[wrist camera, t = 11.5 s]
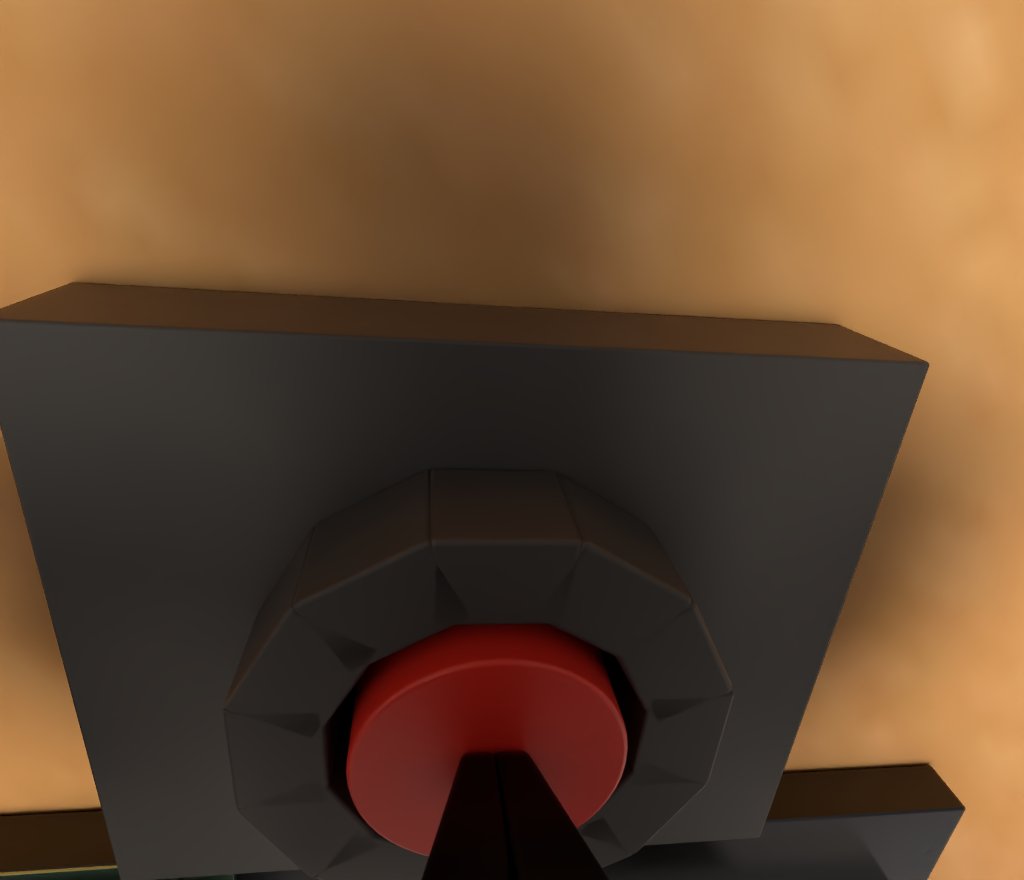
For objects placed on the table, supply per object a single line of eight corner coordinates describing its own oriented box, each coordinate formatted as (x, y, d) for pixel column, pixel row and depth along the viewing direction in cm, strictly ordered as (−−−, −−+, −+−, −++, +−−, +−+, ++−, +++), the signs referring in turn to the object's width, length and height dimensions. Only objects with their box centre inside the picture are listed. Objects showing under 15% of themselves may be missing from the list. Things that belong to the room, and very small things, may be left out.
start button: (581, 749, 11) (609, 854, 9) (361, 759, 10) (348, 872, 8) (612, 571, 9) (651, 657, 8) (357, 572, 9) (341, 665, 7)
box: (715, 746, 15) (809, 938, 11) (166, 772, 13) (66, 1009, 9) (839, 324, 11) (1047, 410, 7) (69, 281, 9) (-168, 367, 5)
